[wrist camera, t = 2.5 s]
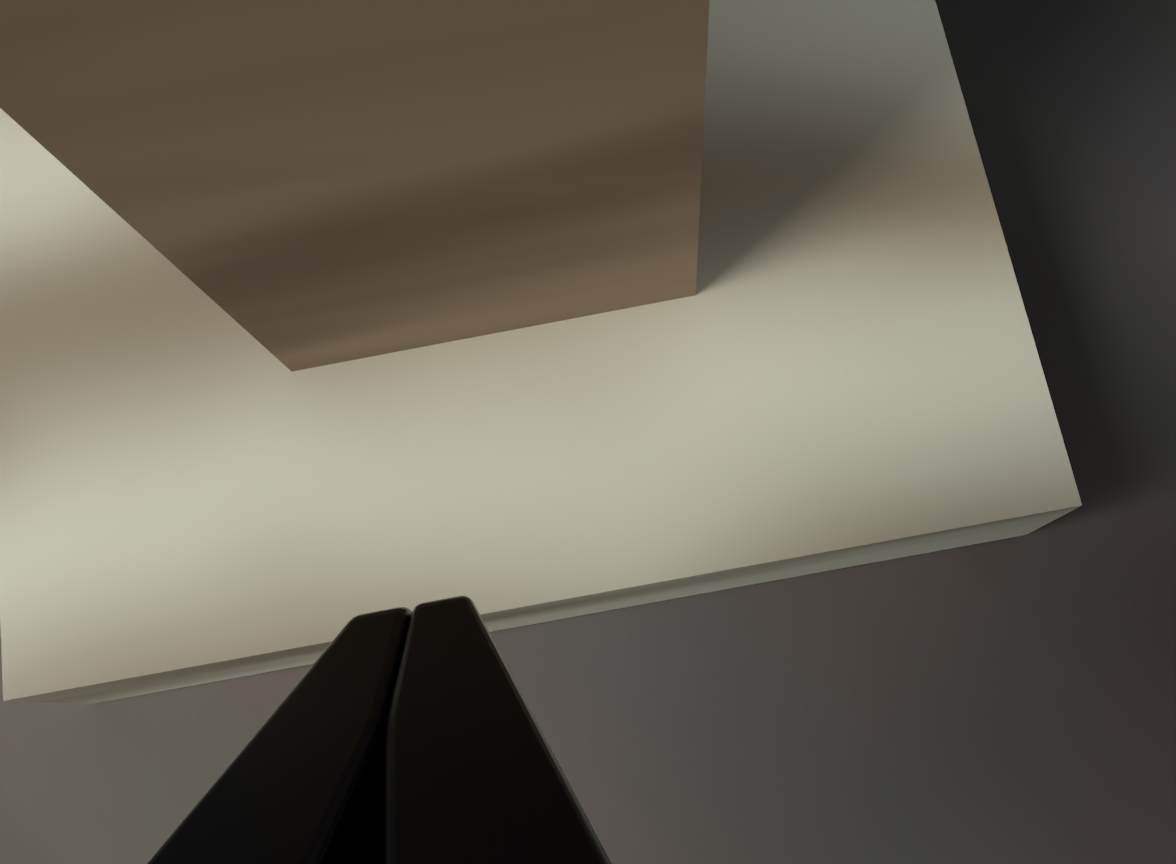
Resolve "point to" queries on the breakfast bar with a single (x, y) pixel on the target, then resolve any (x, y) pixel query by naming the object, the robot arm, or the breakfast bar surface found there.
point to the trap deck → (532, 398)
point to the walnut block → (382, 154)
